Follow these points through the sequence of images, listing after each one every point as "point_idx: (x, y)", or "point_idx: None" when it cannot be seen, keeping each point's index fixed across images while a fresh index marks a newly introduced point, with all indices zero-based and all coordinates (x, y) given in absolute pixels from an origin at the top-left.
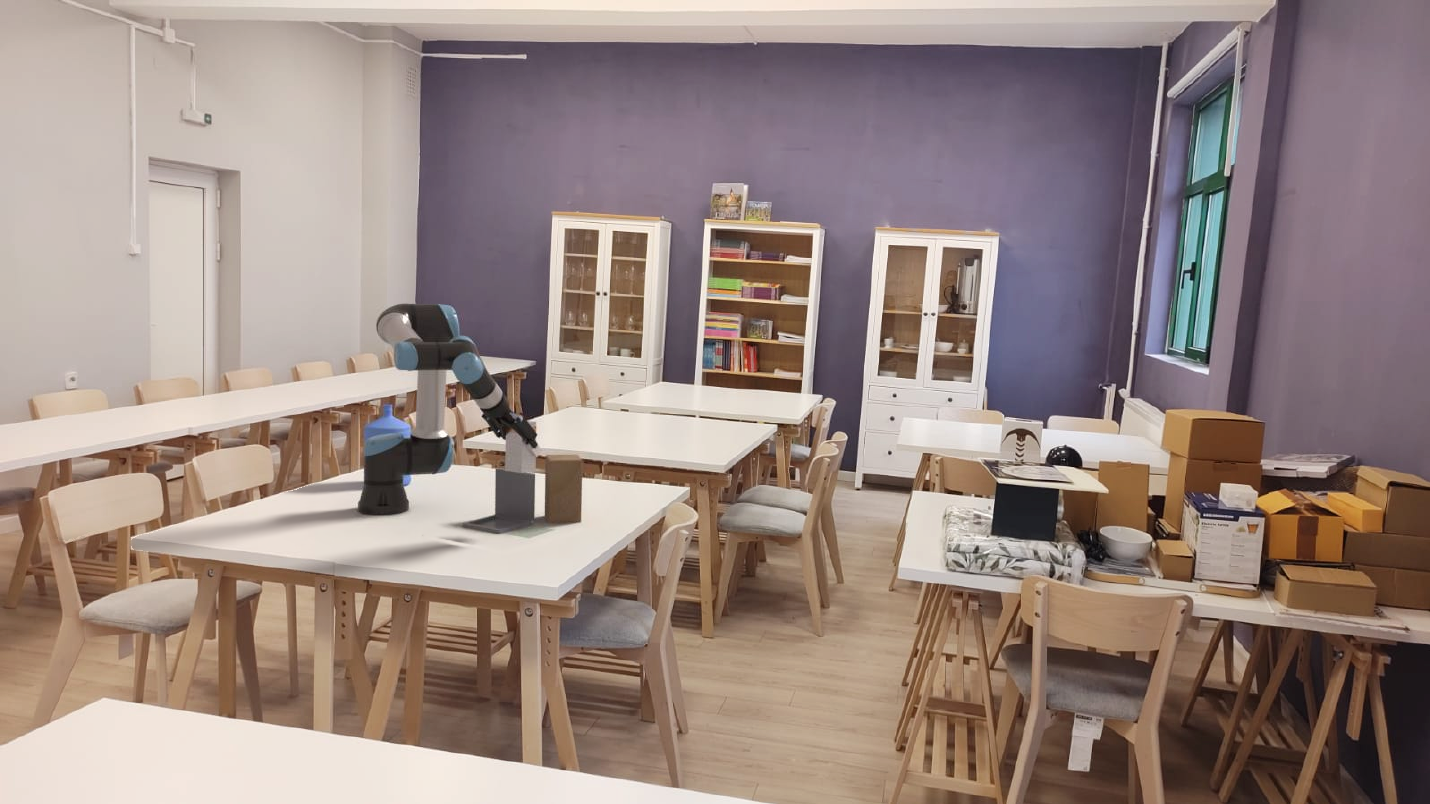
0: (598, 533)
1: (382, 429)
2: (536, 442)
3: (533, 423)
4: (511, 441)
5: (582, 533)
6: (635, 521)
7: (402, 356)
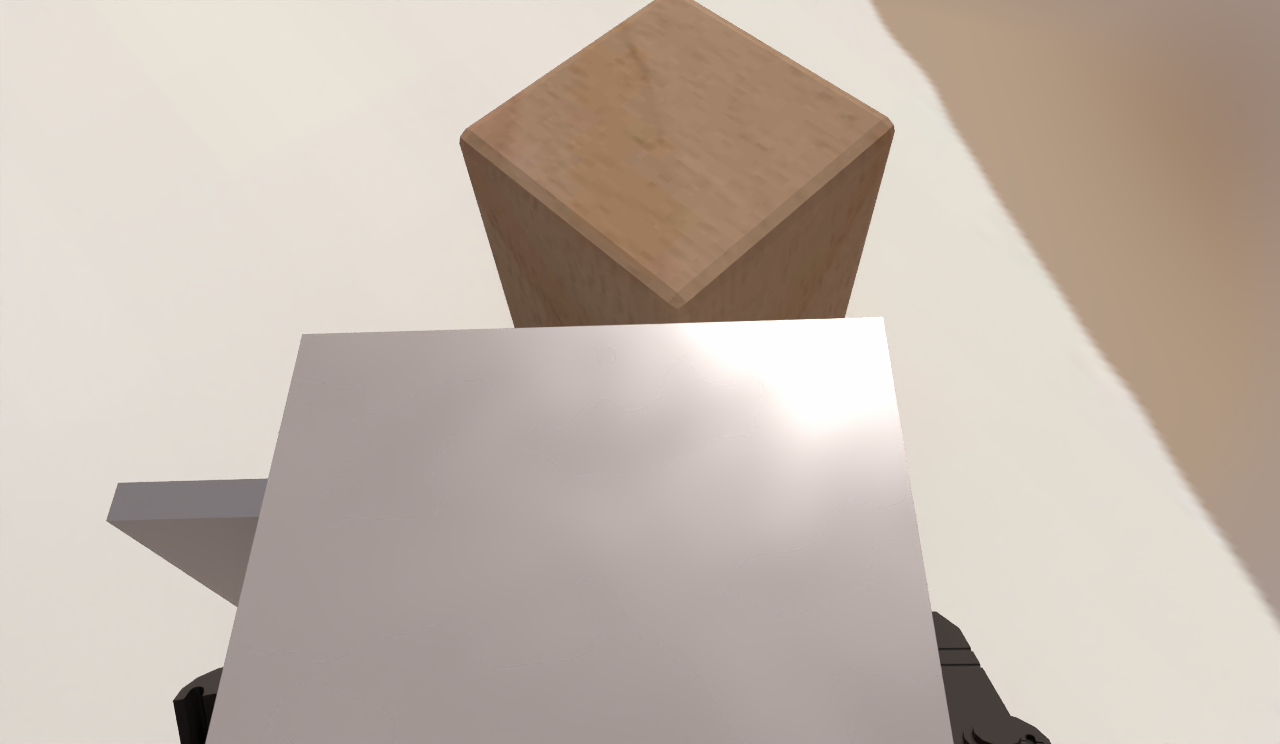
0: (1038, 504)
1: None
2: (971, 658)
3: (893, 437)
4: None
5: (970, 563)
6: (967, 194)
7: None
